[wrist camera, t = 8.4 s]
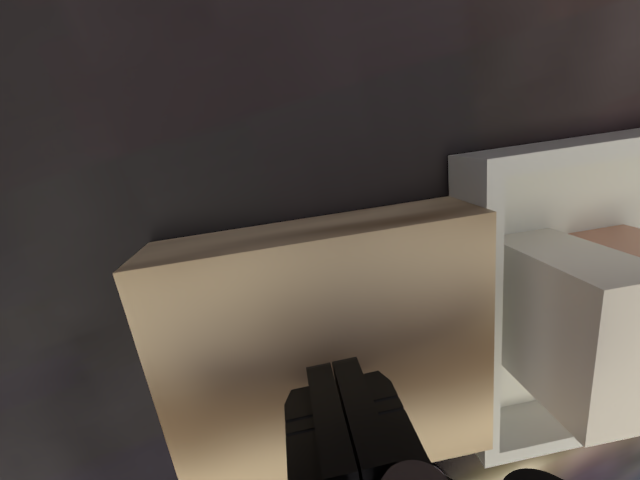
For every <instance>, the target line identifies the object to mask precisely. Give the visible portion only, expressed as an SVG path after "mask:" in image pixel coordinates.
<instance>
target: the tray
mask: <svg viewBox="0 0 640 480" xmlns="http://www.w3.org/2000/svg"><path fill="white" fill-rule="evenodd" d="M448 182H449V196H450V197H453V198H456V199H459V200H462V201H465V202H468V203H471V204H474V205H477V206H480V207H483V208H486V209H489V210H492V211H496V271H495V336H494V401H493V449H491V450H487V451H482V452H478V453H475V454H476V455H477V457H478V458H479V460H480V462H481V463H482V465H483V466H484V468H489V467H493V466H498V465H502V464H507V463H511V462H516V461H520V460H525V459H529V458H534V457H538V456H542V455H547V454H551V453H556V452H560V451H565V450H569V449H574V448H578V447H583V446H582V445H581V444H580V443H579V442H578V441H577V440H576V439H575V438H574V437H573V436H572V435H571V434H570V433H569V432H568V431H567V430H566V429H565V428H564V427H563V426H562V425H561V424H560V423H559V422H558V421H557V420H556V419H555V418H554V417H553V416H552V415H551V414H550V413H549V412H548V411H547V410H546V409H545V408H544V407H543V406H542V405H541V404H540V403H539V402H538V401H537V400H536V399H535V398H534V397H533V396H532V395H531V394H530V393H529V392H528V391H527V390H526V389H525V388H524V387H523V386H522V385H521V384H520V383H519V382H518V381H517V380H516V379H515V378H514V377H513V376H512V375H511V374H510V373H509V372H508V371H507V370H506V369H505V368H504V367H503V366H502V365H501V363H502V318H503V273H504V235H506V234H513V233H519V232H526V231H532V230H539V229H545V228H551V229H554V230H557V231H561V232H564V233H567V234H568V233H574V232H580V231H586V230H592V229H598V228H604V227H610V226H616V225H622V224H624V225H628V226H632V227H636V228H640V128H635V129H628V130H621V131H614V132H607V133H600V134H593V135H586V136H580V137H573V138H566V139H559V140H552V141H545V142H538V143H531V144H524V145H517V146H510V147H503V148H496V149H489V150H482V151H475V152H468V153H462V154H455V155H448Z"/></svg>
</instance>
